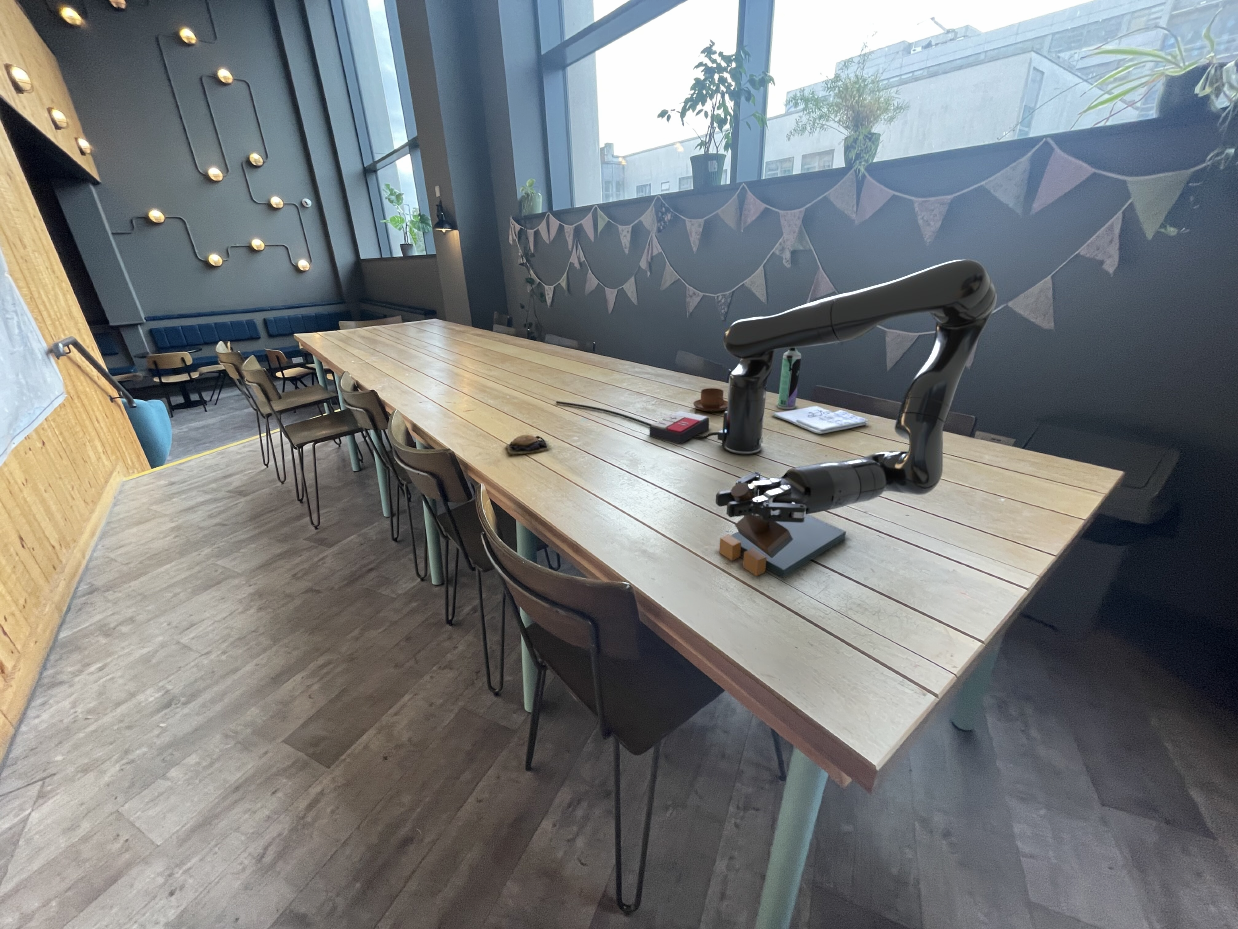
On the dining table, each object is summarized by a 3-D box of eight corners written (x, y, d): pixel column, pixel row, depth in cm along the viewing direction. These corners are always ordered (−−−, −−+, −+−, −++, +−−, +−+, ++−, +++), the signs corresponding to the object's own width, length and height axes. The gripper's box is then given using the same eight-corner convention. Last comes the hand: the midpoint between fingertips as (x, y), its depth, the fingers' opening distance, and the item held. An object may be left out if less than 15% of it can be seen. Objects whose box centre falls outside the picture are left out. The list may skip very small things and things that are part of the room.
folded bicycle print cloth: (819, 435, 131) (821, 428, 130) (771, 416, 148) (771, 409, 147) (869, 425, 138) (870, 418, 137) (817, 407, 155) (818, 401, 154)
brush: (739, 533, 79) (713, 488, 73) (759, 516, 80) (734, 470, 74) (772, 558, 72) (745, 510, 66) (793, 539, 73) (768, 490, 67)
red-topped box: (648, 423, 133) (678, 408, 143) (649, 437, 135) (678, 421, 145) (680, 431, 127) (709, 415, 137) (680, 446, 129) (709, 428, 138)
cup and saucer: (736, 408, 157) (737, 390, 155) (717, 416, 149) (718, 397, 147) (706, 402, 165) (706, 384, 162) (686, 409, 157) (686, 391, 154)
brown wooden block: (727, 548, 82) (718, 552, 81) (728, 534, 81) (719, 537, 80) (740, 557, 79) (731, 561, 78) (741, 541, 78) (732, 545, 77)
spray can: (796, 409, 154) (803, 347, 146) (778, 409, 155) (785, 347, 147) (793, 404, 158) (801, 344, 150) (776, 404, 160) (783, 344, 152)
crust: (751, 563, 78) (742, 567, 77) (753, 547, 77) (744, 551, 76) (765, 572, 75) (756, 576, 74) (767, 556, 74) (757, 560, 73)
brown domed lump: (509, 457, 124) (507, 444, 122) (506, 446, 131) (504, 433, 129) (549, 451, 127) (548, 438, 125) (543, 440, 134) (542, 428, 132)
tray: (724, 544, 83) (725, 537, 82) (787, 512, 92) (788, 506, 92) (782, 577, 74) (783, 570, 73) (844, 538, 84) (846, 531, 83)
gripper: (796, 449, 79) (702, 464, 75) (856, 484, 67) (749, 504, 63) (790, 489, 82) (700, 505, 78) (847, 529, 70) (744, 551, 66)
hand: (722, 504), depth 70 cm, fingers closed on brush, 3 cm apart
